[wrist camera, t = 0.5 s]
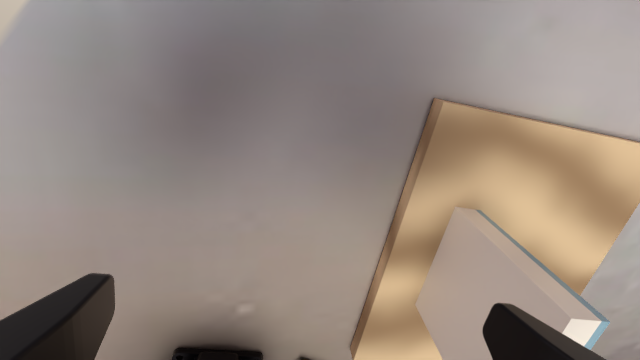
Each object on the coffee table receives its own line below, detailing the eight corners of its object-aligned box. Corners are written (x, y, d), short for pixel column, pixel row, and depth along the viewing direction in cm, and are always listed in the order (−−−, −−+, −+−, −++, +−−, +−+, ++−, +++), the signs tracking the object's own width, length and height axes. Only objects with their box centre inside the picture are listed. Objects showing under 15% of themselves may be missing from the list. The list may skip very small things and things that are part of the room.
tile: (437, 306, 24) (520, 447, 16) (415, 304, 24) (487, 447, 15) (480, 210, 21) (610, 322, 13) (455, 206, 21) (571, 318, 12)
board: (522, 358, 29) (531, 370, 28) (350, 348, 26) (353, 361, 25) (653, 145, 22) (672, 150, 21) (434, 98, 19) (443, 101, 18)
